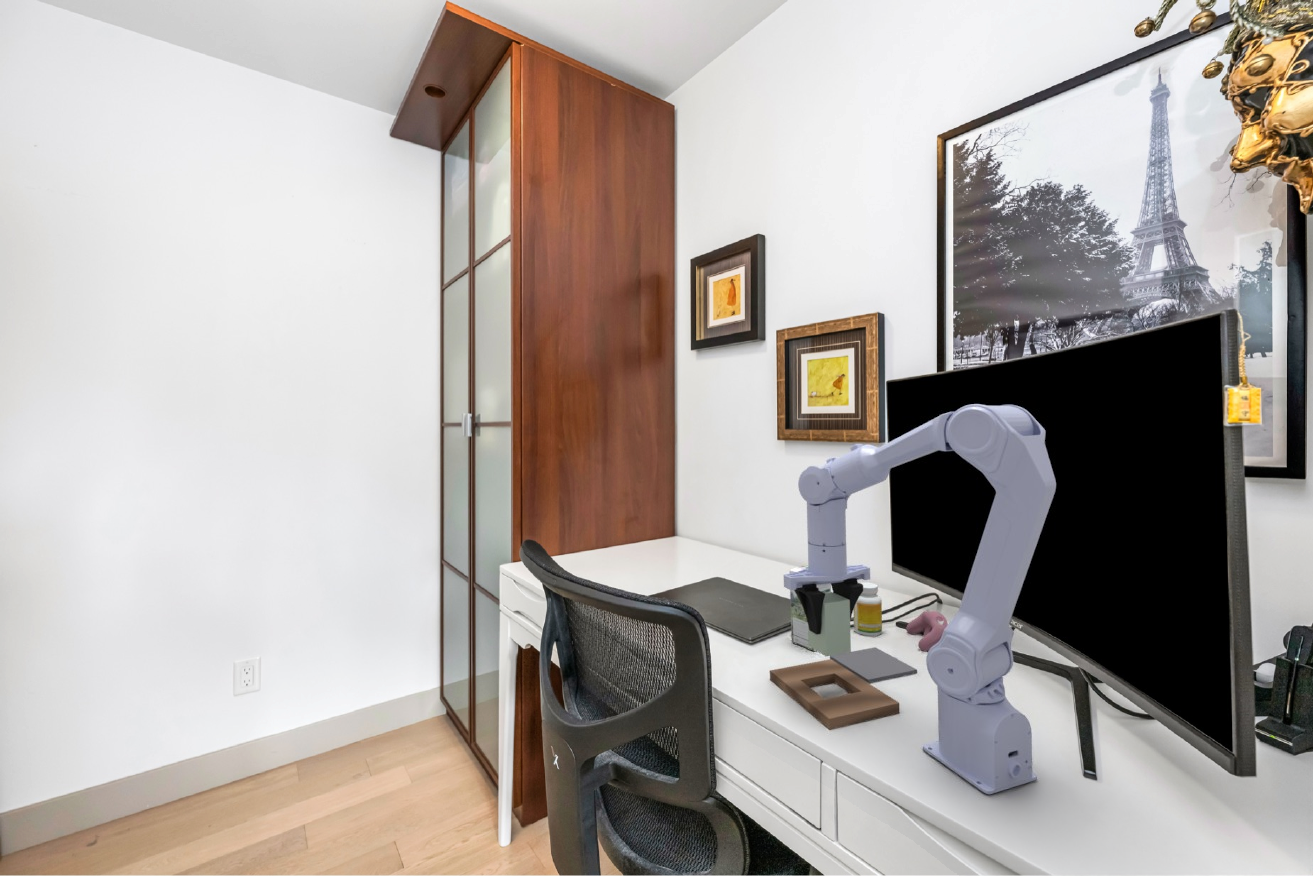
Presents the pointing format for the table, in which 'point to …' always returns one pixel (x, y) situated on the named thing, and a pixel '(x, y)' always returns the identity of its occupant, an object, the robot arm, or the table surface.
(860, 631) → the supplement bottle
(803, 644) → the syrup box
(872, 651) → the charcoal mat
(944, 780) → the table surface
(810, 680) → the board
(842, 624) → the sage block
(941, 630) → the video game controller
